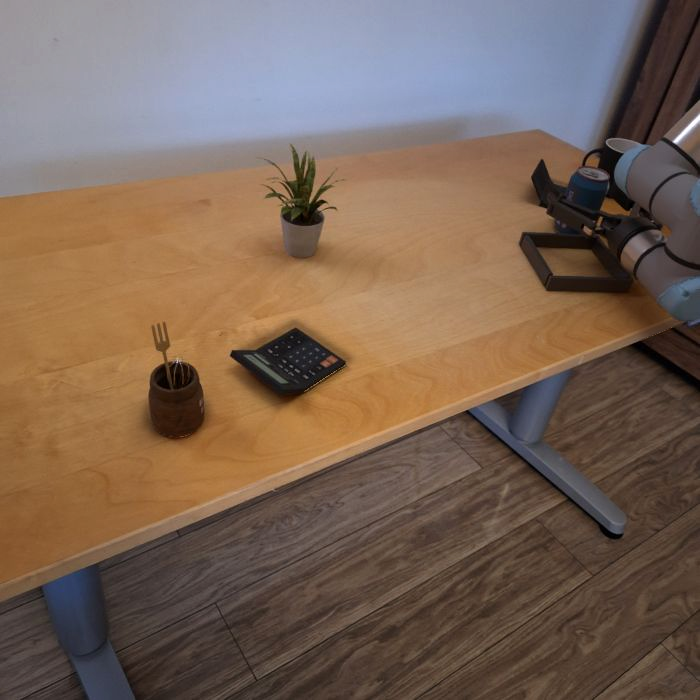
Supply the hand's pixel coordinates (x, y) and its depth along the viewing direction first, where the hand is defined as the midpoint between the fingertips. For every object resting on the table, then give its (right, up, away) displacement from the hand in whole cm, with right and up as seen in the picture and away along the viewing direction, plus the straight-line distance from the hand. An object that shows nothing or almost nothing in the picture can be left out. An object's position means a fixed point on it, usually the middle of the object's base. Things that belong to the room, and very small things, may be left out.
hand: (580, 187), depth 115 cm
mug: (+12, +4, +20) cm, 24 cm away
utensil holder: (-62, -38, -43) cm, 85 cm away
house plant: (-52, -13, -12) cm, 55 cm away
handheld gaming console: (-1, +1, +14) cm, 14 cm away
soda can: (-1, -8, +3) cm, 9 cm away
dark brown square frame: (-4, -16, -7) cm, 18 cm away
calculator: (-51, -33, -34) cm, 69 cm away
